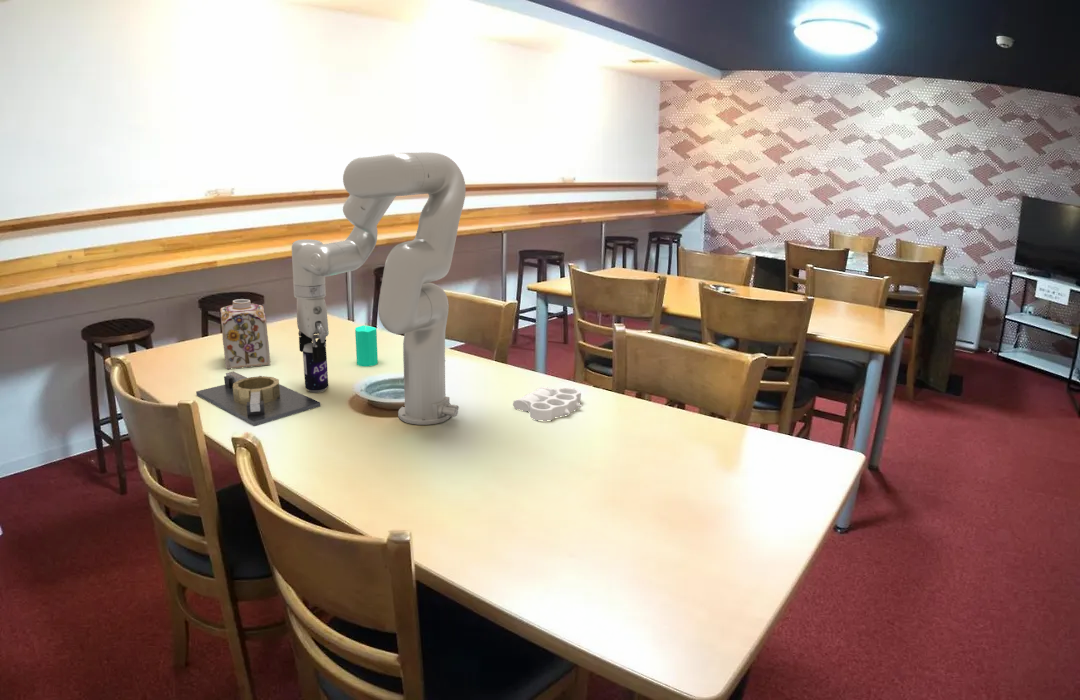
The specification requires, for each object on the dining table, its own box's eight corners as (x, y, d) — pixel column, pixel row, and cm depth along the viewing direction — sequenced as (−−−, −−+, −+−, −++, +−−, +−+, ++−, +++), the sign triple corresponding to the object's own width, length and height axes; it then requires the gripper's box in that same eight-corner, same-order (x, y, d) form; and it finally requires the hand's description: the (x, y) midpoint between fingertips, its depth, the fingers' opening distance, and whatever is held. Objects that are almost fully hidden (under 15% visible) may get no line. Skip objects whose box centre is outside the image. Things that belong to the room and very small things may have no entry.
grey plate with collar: (320, 406, 170) (319, 388, 168) (254, 425, 157) (252, 407, 156) (260, 379, 187) (259, 363, 185) (196, 395, 174) (194, 378, 173)
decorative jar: (224, 358, 203) (218, 297, 198) (267, 354, 208) (262, 294, 203) (225, 370, 193) (219, 306, 188) (270, 366, 198) (265, 303, 193)
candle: (354, 361, 204) (352, 321, 200) (375, 359, 206) (373, 319, 203) (358, 367, 199) (356, 326, 195) (380, 365, 201) (378, 324, 198)
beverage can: (314, 395, 177) (311, 349, 173) (300, 390, 180) (297, 345, 176) (333, 389, 181) (330, 345, 178) (319, 384, 184) (316, 340, 181)
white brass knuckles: (544, 393, 184) (593, 405, 177) (505, 414, 169) (557, 428, 162) (544, 381, 183) (594, 392, 176) (505, 401, 168) (557, 414, 161)
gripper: (337, 296, 169) (339, 363, 174) (312, 282, 182) (315, 345, 187) (306, 299, 164) (310, 368, 169) (283, 284, 177) (286, 349, 183)
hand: (312, 356), depth 178 cm, fingers open, 9 cm apart
